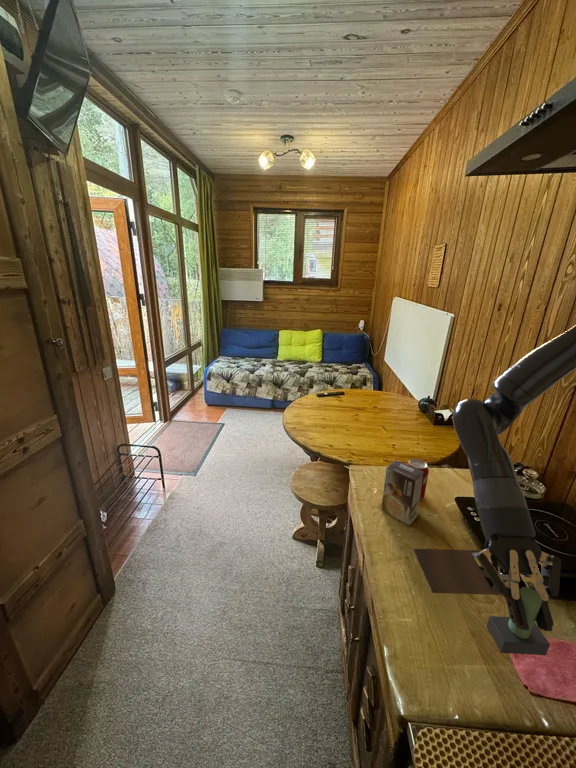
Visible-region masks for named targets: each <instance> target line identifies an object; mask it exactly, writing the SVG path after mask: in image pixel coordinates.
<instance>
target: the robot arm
mask: <svg viewBox="0 0 576 768" xmlns="http://www.w3.org/2000/svg"><path fill="white" fill-rule="evenodd" d="M575 370H576V324H574V325H572V326H571V327H569V329H566V330H565V331H564V332H562V333H560V334H558V335H556V336H555V337H553V338H551V339H549V340H547V341H545V342H544V343H541V344H540V345H538V346H536V347H535V348H533V349H531V350H530V351H528V352H527V353H526V354H524V355H523V356H521V357H519V359H518V360H516V361H515V362H514V363H513V364H512V365H511V366H509V368H507V369H506V370H504V372H503V373H502V374H500V375H499V376H498V377H497V378H495V380H494V381H493V382H492V387H491V388H492V390H493V392H492V393H491V394H490V395H489V397H487V399H486V400H485V401H483V400H481V399H479V398H478V399H477V398H475V397H474V398H473V397H471V398H465V399H462V400H461V401H459V402H458V403H457V404H456V405H455V407H454V409H453V411H452V423H453V427H454V431H455V434H456V436H457V438H458V441H459V443H460V445H461V448H462V450H463V452H464V454H465V457H466V459H467V463H468V468H469V472H470V477H471V480H472V481H471V482H472V487H473V496H474V500H475V505H476V509H477V514H478V517H479V522H480V525H481V526H480V527H481V530H482V533H483V536H484V539H485V543H484V548H483V549H481V550H482V551H480V552H479V553H472V554H471V557H472V559H473V561H474V562H475V564H476V566H477V567H478V569H479V571H480V572H481V574H482V576H483V577H484V579H485V581H486V582H487V584H488V586H489V587H490V589H491V590H492V591H493V592H496V593H498V594H501V596H502V597H503V598H504V599H505V604H506V606H507V611H508V615H509V617H510V619H511V621H512V622H513V623H515V626H516V627H517V628H519V629H522V630H529V626H528V622H527V618H526V614H525V610H524V607H523V603H522V601H521V600H519V599H520V593H519V590H520V585H519V584H520V583H521V580H522V581H523V582H524V585H525V587H528V588H530V589H532V590H534V591H536V592H537V593H538V594H539V595H540V596H541V598H542V604H541V607H540V609H539V612H538V615H537V617H536V620H535V623H536V625H537V626H538V628H539V629H540V630H541V631H545V632H553V627H554V619H553V616H552V612H551V609H550V606H549V599H551V598H553V597H558V596H559V594H560V586H561V585H560V584H561V583H560V582H561V573H562V571H561V570H562V559H561V558H560V557H559V556H557V555H551V554H549V553H547V552H544V551H542V549H541V547H540V545H539V544H538V543H537V541H536V534H537V533H536V530H535V527H534V523H533V520H532V517H531V514H530V510H529V508H528V504H527V501H526V498H525V494H524V491H523V489H522V487H521V485H520V483H519V479H518V476H517V473H516V470H515V467H514V464H513V461H512V457H511V456H510V453H509V451H508V450H507V449H506V448H505V447H504V446H503V445H502V443H501V441H500V437H499V436H500V435H501V434H503V433H504V432H506V430H508V429H509V428H510V427H511V425H512V424H514V422H515V421H516V420H517V419H518V418H519V417H520V415H521V414H522V413H523V411H524V410H525V409H526V407H527V406H529V405H530V404H532V403H533V402H534V401H535V400H537V399H538V398H540V397H541V396H542V395H544V394H545V393H546V392H547V391H548V390H550V389H551V388H553V386H555V385H557V383H558V382H560V381H561V380H563V379H564V378H565V377H566V376H569V374H571V373H572V372H574V371H575ZM539 560H540V561H539ZM493 562H494V564H496V565H497V571H498V574H499V576H498V574H497V573H496V571H495V570H494V568H493V566H494V565H493V566H492V564H493ZM538 563H539V564H540V565H541V573H540V571H539V568H538Z"/></svg>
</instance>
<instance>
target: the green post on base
mask: <svg viewBox="0 0 576 768" xmlns="http://www.w3.org/2000/svg"><path fill="white" fill-rule="evenodd" d="M519 593H520V599H519V600H521V601H522V603H523V607H524V610H525V614H526V618H527V622H528V626H529V630H522V629H519V628H517V627H516V626H515V623H513V622H512V621H511V619H510V616H496V615H489V616H488V619H487V622H486V626H485V627H486V629H487V631H488V632H489V634H490V636H491V638H492V640H493V641H494V643H495V645H496V647H497V649H498V650H499V652H500V654H513V655H514V654H516V655H532V656H533V655H534V656H546V655H547V653H548V651H549V648H550V646H551V644H550V642H549V640H548V639H547V638H546V636H545V635H544V633H543V632H542V630H541V629H540V628H539V627H538V626H537V623H536V617H537V615H538V612H539V609H540V607H541V604H542V598H541V596H540V595H539V594H538V593H537V592H536V591H534V590H532V589H530V588H528V587H527V586H522V587H519Z"/></svg>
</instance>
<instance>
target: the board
mask: <svg viewBox="0 0 576 768" xmlns="http://www.w3.org/2000/svg"><path fill="white" fill-rule="evenodd" d="M482 550H483V549H481V550H479V549H449V548H447V549H445V548H414V547H412V551H413V552H414V555H415V558H416V560H417V562H418V564H419V566H420V568H421V571H422V573H423V575H424V577H425V579H426V582H427V584H428V586H429V588H430V590H431V593H434V594H463V595H464V594H470V595H496V596H497V595H501V594H498V593H496V592H493V591H492V590H491V589H490V587H489V586H488V584H487V582H486V581H485V579H484V577H483V576H482V574H481V572H480V571H479V569H478V567H477V566H476V564H475V562H474V561H473V559H472V557H471V554H472V553H479V552H480V551H482ZM492 566H493V568H494V570H495V571H496V573H497V574H498V569H497V568H496V567H495V565H494V564H493V563H492ZM498 576H499V574H498ZM501 596H502V595H501Z"/></svg>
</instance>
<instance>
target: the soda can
mask: <svg viewBox="0 0 576 768" xmlns="http://www.w3.org/2000/svg"><path fill="white" fill-rule="evenodd" d="M406 464H407V465H409V466H411V467H414V468H416V469H418V470H421V471H423V472H424V478H423V484H422V490H421V497H420V501H421V500H423V499H424V498H425V495H426V491H427V484H428V478H429V473H430V469H429V467H428V463H427V462H426V461H424V460H422V459H418V458H411V459H409V460H408V463H406Z"/></svg>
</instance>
